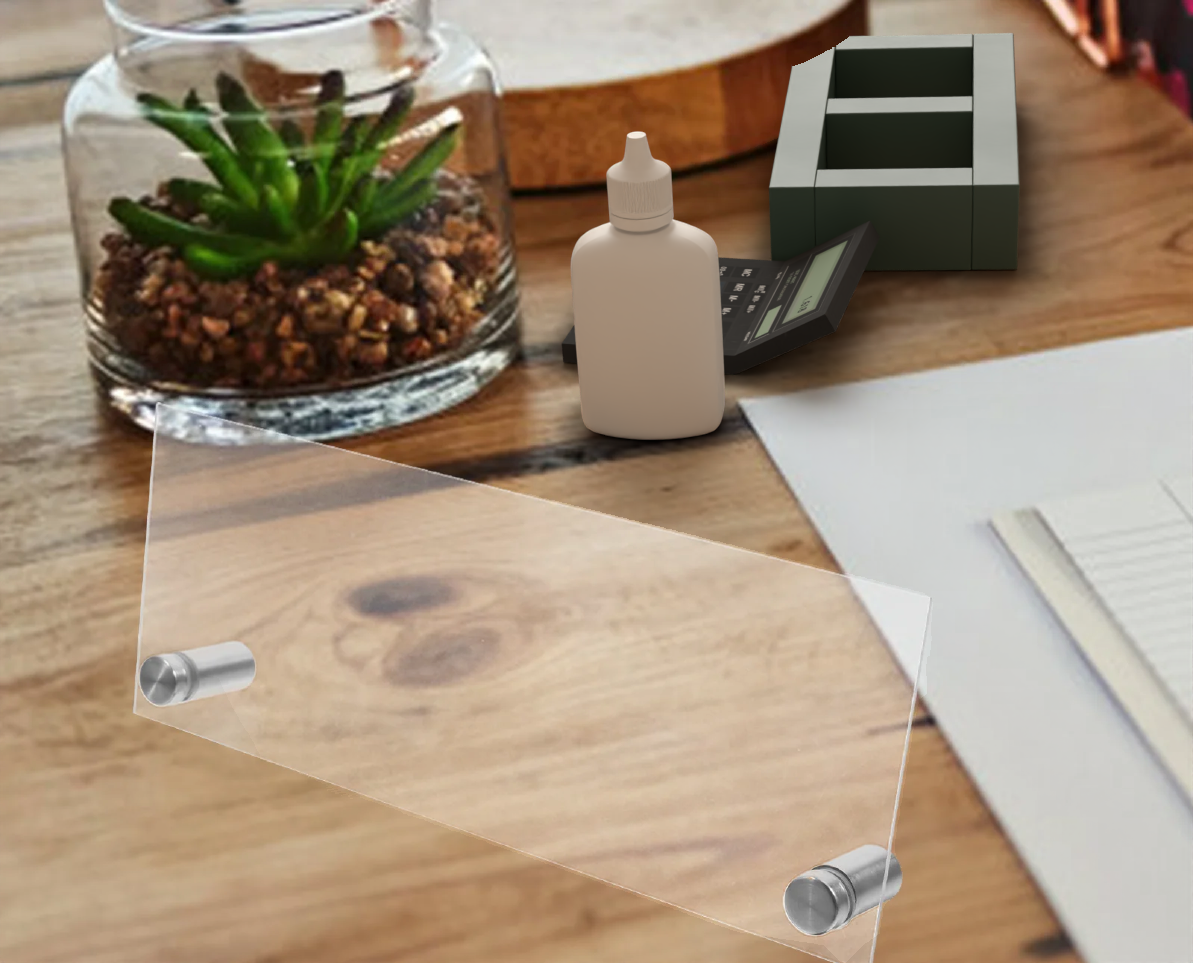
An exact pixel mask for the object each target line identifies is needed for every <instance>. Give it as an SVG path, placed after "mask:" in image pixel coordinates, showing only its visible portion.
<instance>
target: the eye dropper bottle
mask: <svg viewBox="0 0 1193 963" xmlns="http://www.w3.org/2000/svg"><path fill="white" fill-rule="evenodd" d="M606 189H607V190H606V191H607V202H608V214H609V216H608V218H609V221H608V222H605V223H603V224H601V225H598V226H596V227H593V228H591V229H589V230H587V231H586V232H585V233H584V234H582V235H581V236H580V237H579V238H578V240H577V241H576V243H575V245H574V247H573V250H572V254H571V258H570V282H571V283H570V284H571V285H570V286H571V298H572V299H571V300H572V310H573V311H572V312H573V313H572V314H573V326H575V339H576V351H577V363H576V364H577V374H578V375H577V376H578V387H579V397H580V412H581V419H582V421H583V424H584V426H585V427H586V429H588V430H590V431H591V432H593V433H596V434H600V435H603V436H604V435H605V436H608V437H613V438H618V439H619V438H620V439H630V440H643V441H644V440H645V441H662V440H676V439H684V438H691V437H698V436H702V435H706V434H709V433H712V432H714V431H715V430H717V429H718V427H719V426H720V425H721V423H722V420H723V417H724V412H725V407H726V387H725V386H726V383H725V374H724V359H723V337H722V316H721V295H720V276H719V261H718V257H719V253H718V252H719V250H718V246H717V244H716V242H715V240H714V238H713V237H712V236H711V235H710V234H709V233H707V232H706V231H704V230H702V229H701V228H698V227H696V226H694V225H691V224H689V223H686V222H683V221H680V220H676V219H674V217H675V216H674V215H675V214H674V199H673V196H674V195H673V181H672V169H671V167H670V165H668V164H667V163H666V162H664V161H662V160H660V159H656V158H654V157H653V156H652V152H651V149H650V145H649V141H648V137H647V134H646V132H643V131H632V132H629V133H627V134H626V141H625V148H624V155H623V158H622V160H621V161H619V162H616V163H615V164H613V165H611V166H610V167H609V168H608V169H607V171H606Z"/></svg>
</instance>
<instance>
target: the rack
mask: <svg viewBox="0 0 1193 963" xmlns="http://www.w3.org/2000/svg"><path fill="white" fill-rule="evenodd" d="M1014 36H1015V34H1014V33H1013V32H999V33H998V32H994V33H993V32H991V33H990V32H989V33H985V32H984V33H947V34H945V33H944V34H943V33H942V34H941V33H940V34H904V35H903V34H899V35H898V34H895V35H849V37H848V38H847V39H845V40H844V41H842V42H841V43H839V44H838V45H836V47H832V49H830V50H827V51H825V52H824V53H822V54H820V55H818V56H816V57H814V58H812V59H810V60H808V61H806V62H804V63H801V64H798V65H795V66H792V65H791V69H790V74H789V80H788V85H787V90H786V96H785V102H784V106H783V112H782V117H781V121H780V128H779V132H778V137H777V144H776V149H775V154H774V160H773V164H772V170H771V175H770V179H769V185H768V202H769V203H768V204H769V206H768V207H769V237H770V238H769V241H770V243H769V244H770V260H772V261H787V260H789V259H791V258H793V257H795V256H797V255H799V254H801V253H803V252H806V251H808V250H810V249H812V248H814V247H816V246H818V245H820V244H822V243H824V242H826V241H829V240H831V239H833V238H835V237H837V236H839V235H841V234H843V233H845V232H847V231H849V230H851V229H854V228H856V227H858V226H860V225H862V224H864V223H866V222H868V221H871V223H872V225H873V226H874V228H875V230H876V231H877V233H878V235H879V237H880V238H879V240H878V242H877V244H876V246H875V248H874V251H873V253H872V255H871V257H870V259H869V261H868V263H867V266H866V268H865V270H864V272H865V271H869V272H871V271H874V272H875V271H971V270H972V271H980V270H981V271H985V270H987V271H989V270H990V271H992V270H993V271H994V270H995V271H997V270H1001V271H1002V270H1005V271H1007V270H1008V271H1009V270H1013V271H1014V270H1015V271H1016V270H1018V261H1019V260H1018V257H1019V255H1018V254H1019V228H1020V227H1019V225H1020V197H1021V196H1020V194H1021V193H1020V192H1021V182H1020V180H1021V179H1020V157H1019V132H1018V106H1017V105H1018V104H1017V83H1016V82H1017V80H1016V58H1015V37H1014Z"/></svg>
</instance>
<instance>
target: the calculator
mask: <svg viewBox="0 0 1193 963" xmlns="http://www.w3.org/2000/svg"><path fill="white" fill-rule="evenodd" d="M879 238H880V237H879V235H878V233H877V231H876V230H875V228H874V226H873V225H872V223H871V221H868V222H866V223H864V224H862V225H860V226H858V227H856V228H854V229H851V230H849V231H847V232H845V233H843V234H841V235H839V236H837V237H835V238H833V239H831V240H829V241H826V242H824V243H822V244H820V245H818V246H816V247H814V248H812V249H810V250H808V251H806V252H803V253H801V254H799V255H797V256H795V257H793V258H791V259H789V260H787V261H772V260H771V259H753V258H737V257H723V256H721V257H719V256H718V261H719V276H720V295H721V316H722V337H723V359H724V375H725V374H726V375H737V374H740V373H742V372H745V371H746V370H749V369H752V368H754V367H756V366H758V365H761V364H763V363H765V362H768V361H770V360H772V359H775V358H777V357H779V356H783V355H784V354H786V353H790V352H791V351H793V350H796V349H799V348H800V347H803V346H806V345H808V344H810V343H812V342H815V341H817V340H820V339H822V338H824V337H826V336H828V335H831V334H833V333H836V332H837V329H838V327H839V325H840V323H841V321H842V319H843V317H844V315H845V312H846V310H847V309H848V306H849V304H850V302H851V299H852V298H853V296H854V293H855V291H856V289H857V287H858V285H859V283H860V280H861V278H862V277H863V274H864V272H865V271H864V270H865V268H866V266H867V263H868V261H869V259H870V257H871V255H872V253H873V251H874V248H875V246H876V244H877V242H878V240H879ZM561 352H562V362H563V363H571V364H573V363H574V364H577V351H576V339H575V326H574V325H573V326H572V327H571V328H570V330H569V332H568V333H567V335H566V336H565V337H564V339H563V341H562V342H561Z"/></svg>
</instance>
